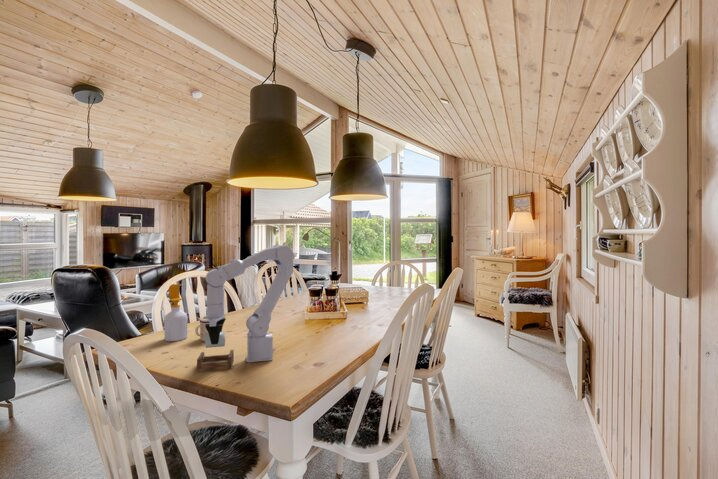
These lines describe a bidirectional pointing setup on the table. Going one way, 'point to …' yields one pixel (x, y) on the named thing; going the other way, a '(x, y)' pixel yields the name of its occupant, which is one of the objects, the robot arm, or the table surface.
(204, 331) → the beige mug
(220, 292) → the robot arm
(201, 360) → the holder
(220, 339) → the roll
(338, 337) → the table surface
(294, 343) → the table surface
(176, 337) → the soap bottle
